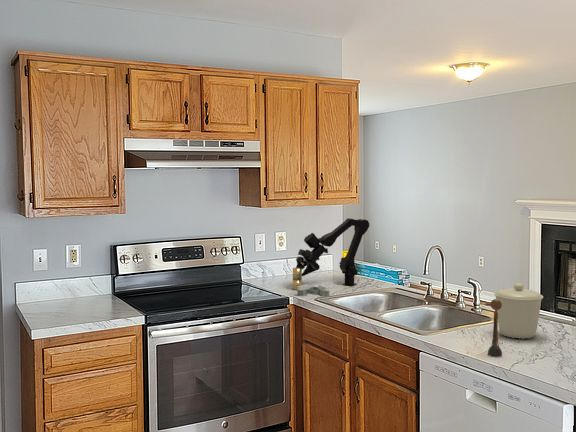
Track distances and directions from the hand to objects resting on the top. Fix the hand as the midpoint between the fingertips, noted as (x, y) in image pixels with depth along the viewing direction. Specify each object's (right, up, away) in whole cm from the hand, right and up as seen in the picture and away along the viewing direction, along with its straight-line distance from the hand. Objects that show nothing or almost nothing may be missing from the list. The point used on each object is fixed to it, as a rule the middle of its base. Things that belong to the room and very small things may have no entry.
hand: (298, 274), depth 336 cm
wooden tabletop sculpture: (+67, -17, -121) cm, 139 cm away
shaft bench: (+9, -9, -13) cm, 19 cm away
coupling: (0, -8, 0) cm, 8 cm away
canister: (+85, -15, -96) cm, 129 cm away
